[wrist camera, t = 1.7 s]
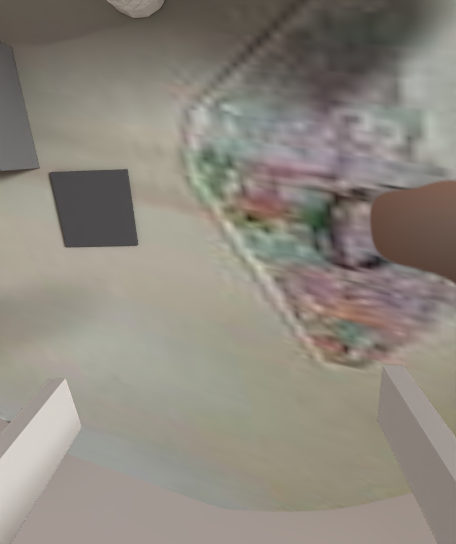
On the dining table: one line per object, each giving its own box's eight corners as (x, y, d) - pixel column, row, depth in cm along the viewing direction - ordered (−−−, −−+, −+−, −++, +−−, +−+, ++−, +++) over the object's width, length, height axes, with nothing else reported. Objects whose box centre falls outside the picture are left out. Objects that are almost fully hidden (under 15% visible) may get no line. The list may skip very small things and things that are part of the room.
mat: (52, 172, 37) (49, 172, 37) (127, 169, 37) (125, 169, 36) (69, 245, 40) (66, 247, 40) (138, 244, 40) (136, 245, 39)
